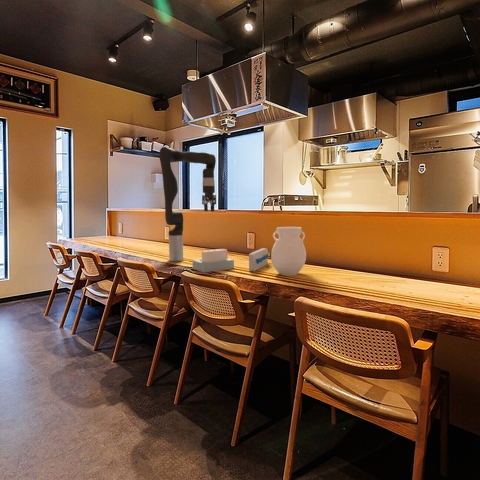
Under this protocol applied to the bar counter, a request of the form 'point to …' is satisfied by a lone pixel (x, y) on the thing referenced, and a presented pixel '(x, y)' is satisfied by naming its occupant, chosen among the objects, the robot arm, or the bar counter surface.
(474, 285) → the bar counter surface
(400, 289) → the bar counter surface
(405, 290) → the bar counter surface
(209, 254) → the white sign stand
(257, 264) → the decorative sign
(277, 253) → the white vase
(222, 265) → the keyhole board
